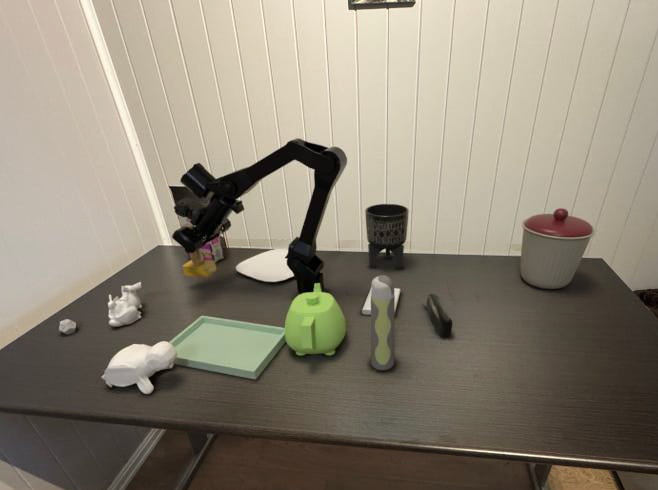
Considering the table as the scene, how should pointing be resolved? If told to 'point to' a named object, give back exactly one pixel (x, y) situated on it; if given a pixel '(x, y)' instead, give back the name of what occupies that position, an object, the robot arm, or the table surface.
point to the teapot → (314, 323)
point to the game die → (67, 326)
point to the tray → (228, 346)
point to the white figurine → (125, 306)
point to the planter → (386, 231)
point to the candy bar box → (207, 245)
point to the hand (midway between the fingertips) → (190, 249)
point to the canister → (553, 248)
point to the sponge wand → (198, 263)
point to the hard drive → (367, 304)
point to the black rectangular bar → (439, 315)
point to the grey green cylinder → (382, 323)
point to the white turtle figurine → (139, 365)
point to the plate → (267, 266)
